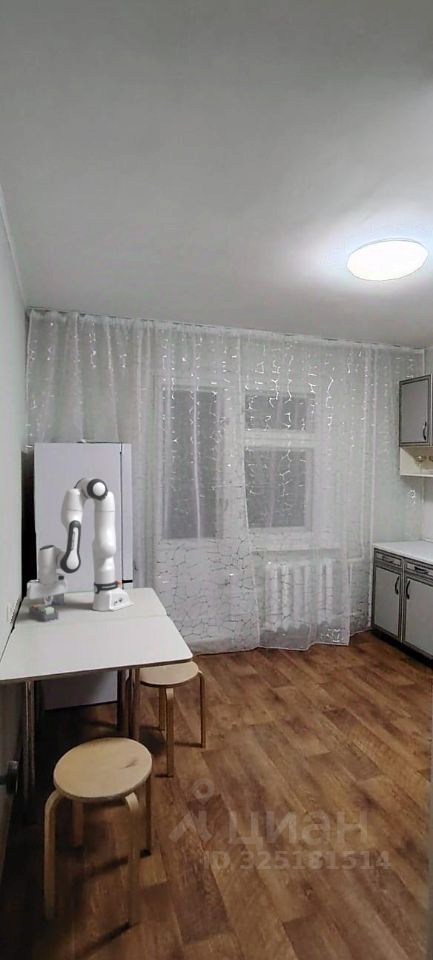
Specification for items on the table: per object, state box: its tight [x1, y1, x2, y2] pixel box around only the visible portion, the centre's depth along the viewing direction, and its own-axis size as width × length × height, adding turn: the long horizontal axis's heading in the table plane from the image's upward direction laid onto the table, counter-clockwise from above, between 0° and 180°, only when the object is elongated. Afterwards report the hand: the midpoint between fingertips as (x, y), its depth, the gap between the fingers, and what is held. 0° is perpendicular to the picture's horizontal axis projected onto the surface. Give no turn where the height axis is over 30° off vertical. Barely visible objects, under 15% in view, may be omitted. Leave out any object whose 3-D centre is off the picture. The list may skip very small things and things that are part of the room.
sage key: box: [43, 606, 55, 615], centre depth 252 cm, size 4×4×3 cm
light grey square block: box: [38, 604, 50, 612], centre depth 257 cm, size 4×4×3 cm
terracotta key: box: [32, 603, 41, 609], centre depth 262 cm, size 4×4×3 cm
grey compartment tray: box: [28, 603, 59, 623], centre depth 257 cm, size 7×20×4 cm, turn 42°
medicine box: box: [47, 593, 65, 605], centre depth 280 cm, size 8×4×9 cm, turn 73°
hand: (47, 604), depth 252 cm, fingers closed
